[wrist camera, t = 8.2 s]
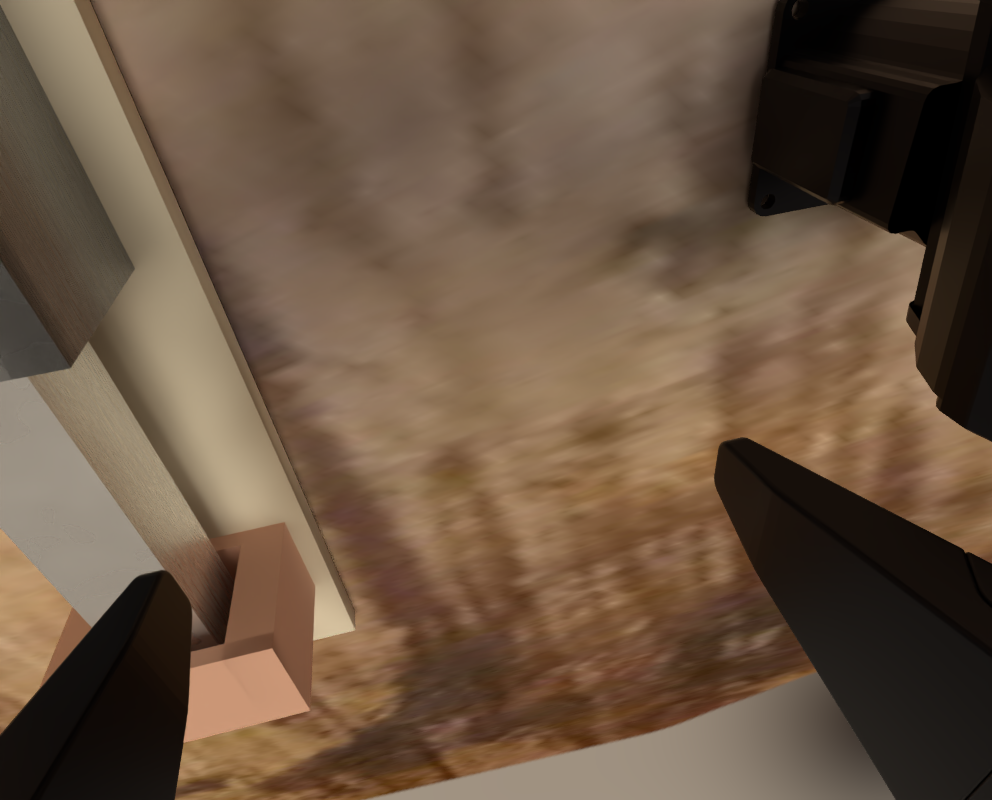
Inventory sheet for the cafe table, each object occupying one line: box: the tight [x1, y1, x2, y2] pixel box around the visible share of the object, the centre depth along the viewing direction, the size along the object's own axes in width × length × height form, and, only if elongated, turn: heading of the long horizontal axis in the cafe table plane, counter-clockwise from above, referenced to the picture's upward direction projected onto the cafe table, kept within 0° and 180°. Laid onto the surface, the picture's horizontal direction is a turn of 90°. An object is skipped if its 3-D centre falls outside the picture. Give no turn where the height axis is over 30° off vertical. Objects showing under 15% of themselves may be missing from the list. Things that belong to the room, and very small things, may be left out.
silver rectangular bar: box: [0, 341, 235, 652], centre depth 18 cm, size 3×17×3 cm, turn 6°
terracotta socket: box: [39, 522, 315, 743], centre depth 23 cm, size 7×4×6 cm, turn 96°
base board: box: [0, 0, 355, 641], centre depth 20 cm, size 9×28×1 cm, turn 6°
